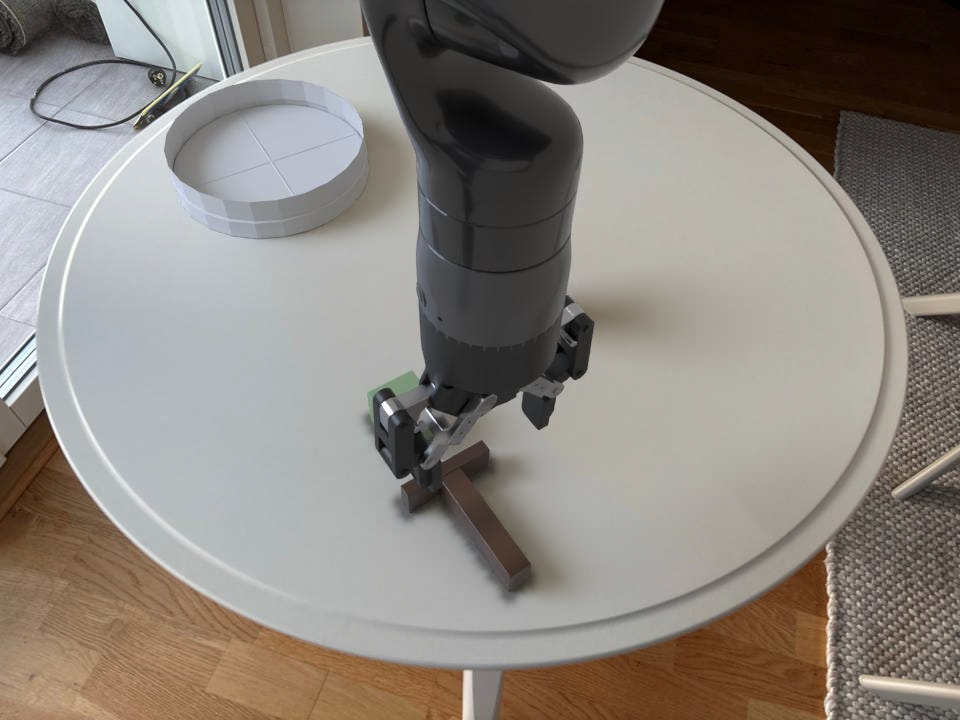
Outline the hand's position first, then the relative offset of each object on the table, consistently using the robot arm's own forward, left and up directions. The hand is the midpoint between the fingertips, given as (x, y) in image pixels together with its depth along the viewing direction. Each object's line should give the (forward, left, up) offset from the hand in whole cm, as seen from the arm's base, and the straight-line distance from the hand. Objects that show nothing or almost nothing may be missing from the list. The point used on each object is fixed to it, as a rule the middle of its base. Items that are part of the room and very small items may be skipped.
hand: (483, 448), depth 52 cm
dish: (+22, +46, -15) cm, 53 cm away
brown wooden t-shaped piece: (0, 0, -14) cm, 14 cm away
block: (+5, +12, -14) cm, 19 cm away
